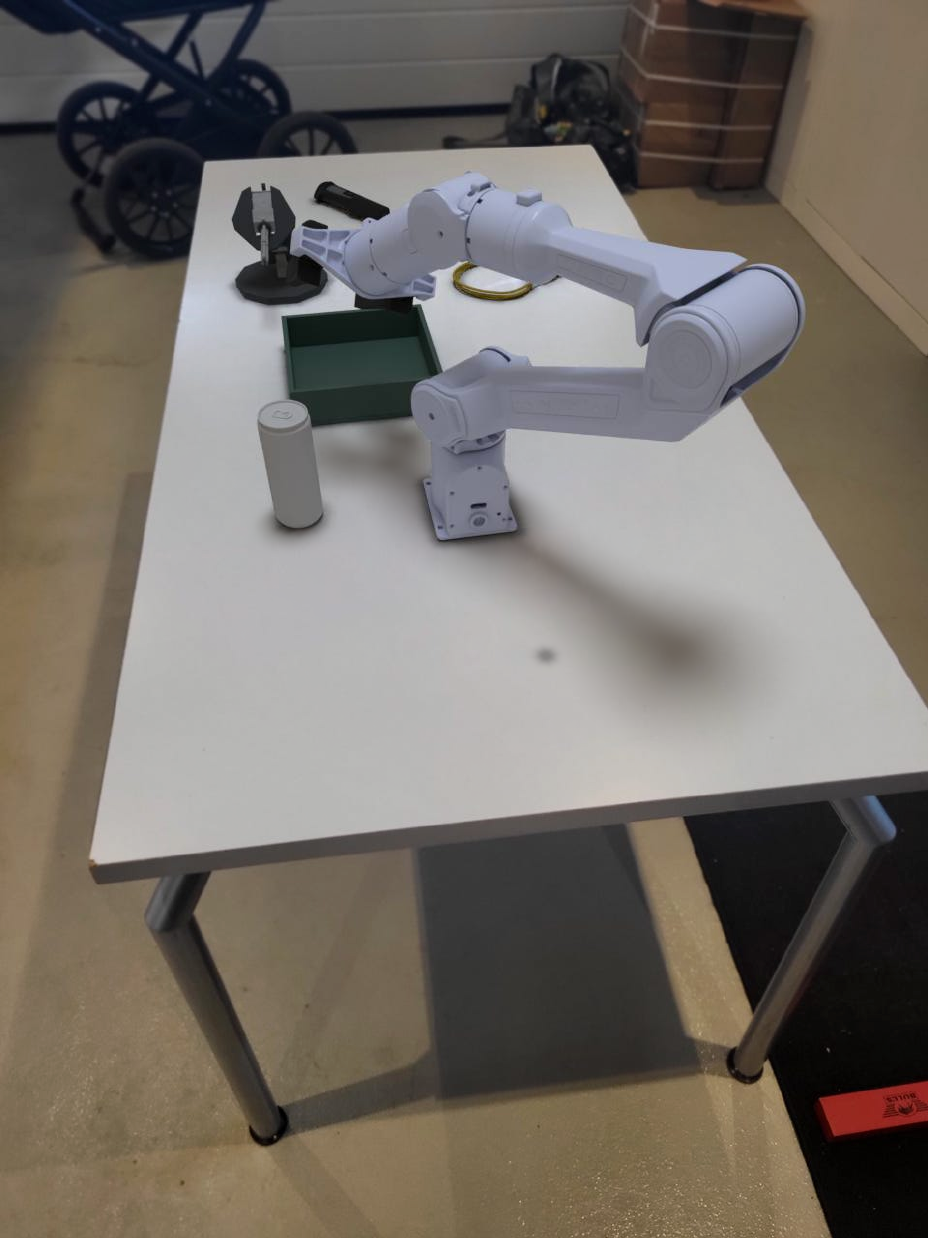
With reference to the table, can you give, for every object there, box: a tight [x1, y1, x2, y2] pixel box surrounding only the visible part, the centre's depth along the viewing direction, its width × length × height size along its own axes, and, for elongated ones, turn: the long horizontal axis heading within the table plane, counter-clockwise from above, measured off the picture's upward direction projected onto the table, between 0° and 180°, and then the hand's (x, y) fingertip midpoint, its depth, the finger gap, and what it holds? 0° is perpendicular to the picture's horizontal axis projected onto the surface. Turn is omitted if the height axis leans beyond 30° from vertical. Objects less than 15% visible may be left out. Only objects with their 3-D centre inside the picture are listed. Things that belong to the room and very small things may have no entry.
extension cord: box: [452, 261, 533, 301], centre depth 123 cm, size 12×16×2 cm
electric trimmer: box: [313, 180, 391, 221], centre depth 138 cm, size 4×16×3 cm, turn 47°
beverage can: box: [256, 399, 324, 529], centre depth 84 cm, size 5×5×12 cm
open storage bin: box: [280, 303, 444, 427], centre depth 104 cm, size 17×17×4 cm
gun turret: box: [230, 182, 329, 306], centre depth 116 cm, size 13×20×13 cm, turn 9°
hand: (324, 286), depth 89 cm, fingers open, 7 cm apart
